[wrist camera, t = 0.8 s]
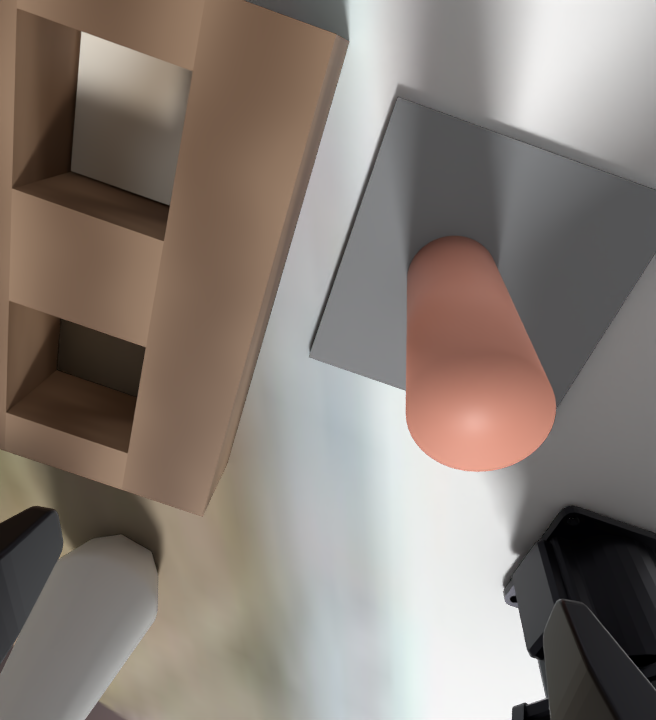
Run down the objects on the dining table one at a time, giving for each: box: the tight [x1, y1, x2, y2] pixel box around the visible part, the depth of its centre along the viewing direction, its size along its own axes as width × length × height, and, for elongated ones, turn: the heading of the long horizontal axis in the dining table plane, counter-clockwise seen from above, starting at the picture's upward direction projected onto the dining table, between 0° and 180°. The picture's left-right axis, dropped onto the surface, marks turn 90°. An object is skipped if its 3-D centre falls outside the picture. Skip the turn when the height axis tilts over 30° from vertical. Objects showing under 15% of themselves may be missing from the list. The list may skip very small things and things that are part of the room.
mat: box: [309, 97, 656, 409], centre depth 20 cm, size 10×10×1 cm
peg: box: [406, 236, 556, 472], centre depth 16 cm, size 3×3×9 cm
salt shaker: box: [0, 534, 158, 720], centre depth 24 cm, size 6×6×13 cm
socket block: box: [0, 0, 349, 517], centre depth 20 cm, size 12×18×4 cm, turn 162°
